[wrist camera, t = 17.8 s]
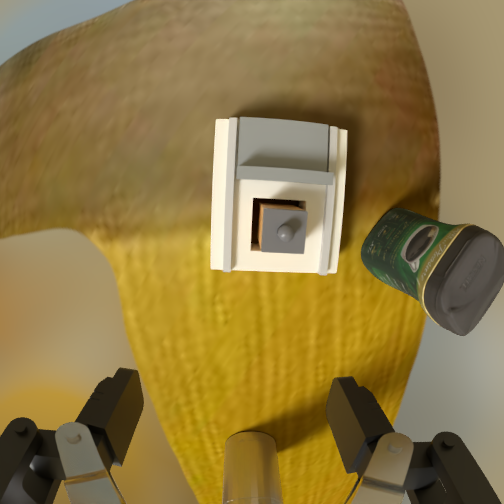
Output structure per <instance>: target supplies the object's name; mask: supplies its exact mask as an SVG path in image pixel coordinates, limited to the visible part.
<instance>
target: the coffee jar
mask: <svg viewBox="0 0 504 504" xmlns="http://www.w3.org/2000/svg"><path fill="white" fill-rule="evenodd" d="M361 258H362V261H363V264H364V265H365V267H366V268H367V269H368V270H369V271H370V272H371V273H372V274H373V275H374V276H375V277H376V278H378V279H379V280H381V281H382V282H384V283H386V284H388V285H389V286H392V287H394V288H396V289H398V290H400V291H402V292H404V293H406V294H408V295H410V296H412V297H413V298H415V299H416V300H418V301H419V302H420V304H421V306H422V308H423V310H424V311H425V313H426V314H427V315H428V316H429V317H430V318H431V319H432V320H433V321H434V322H435V323H436V324H438V325H439V326H441V327H443V328H445V329H447V330H449V331H451V332H453V333H455V334H457V335H460V336H465V335H467V334H468V333H469V332H470V331H472V330H473V329H474V327H475V326H476V325H477V324H478V323H479V321H480V320H481V318H482V317H483V316H484V314H485V313H486V311H487V310H488V308H489V307H490V305H491V303H492V302H493V301H494V299H495V297H496V296H497V294H498V293H499V291H500V289H501V287H502V285H503V283H504V247H503V245H502V243H501V242H500V240H499V239H498V238H497V237H496V236H495V235H493V234H492V233H490V232H489V231H487V230H484V229H482V228H480V227H478V226H476V225H474V224H460V225H450V224H445V223H442V222H438V221H436V220H433V219H430V218H427V217H425V216H422V215H420V214H417V213H415V212H412V211H410V210H406V209H402V208H394V209H392V210H390V211H389V212H387V213H386V214H385V215H384V216H383V218H382V219H381V220H380V221H379V222H378V223H377V224H376V226H375V227H374V228H373V229H372V231H371V232H370V233H369V235H368V237H367V238H366V240H365V241H364V243H363V245H362V249H361Z"/></svg>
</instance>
